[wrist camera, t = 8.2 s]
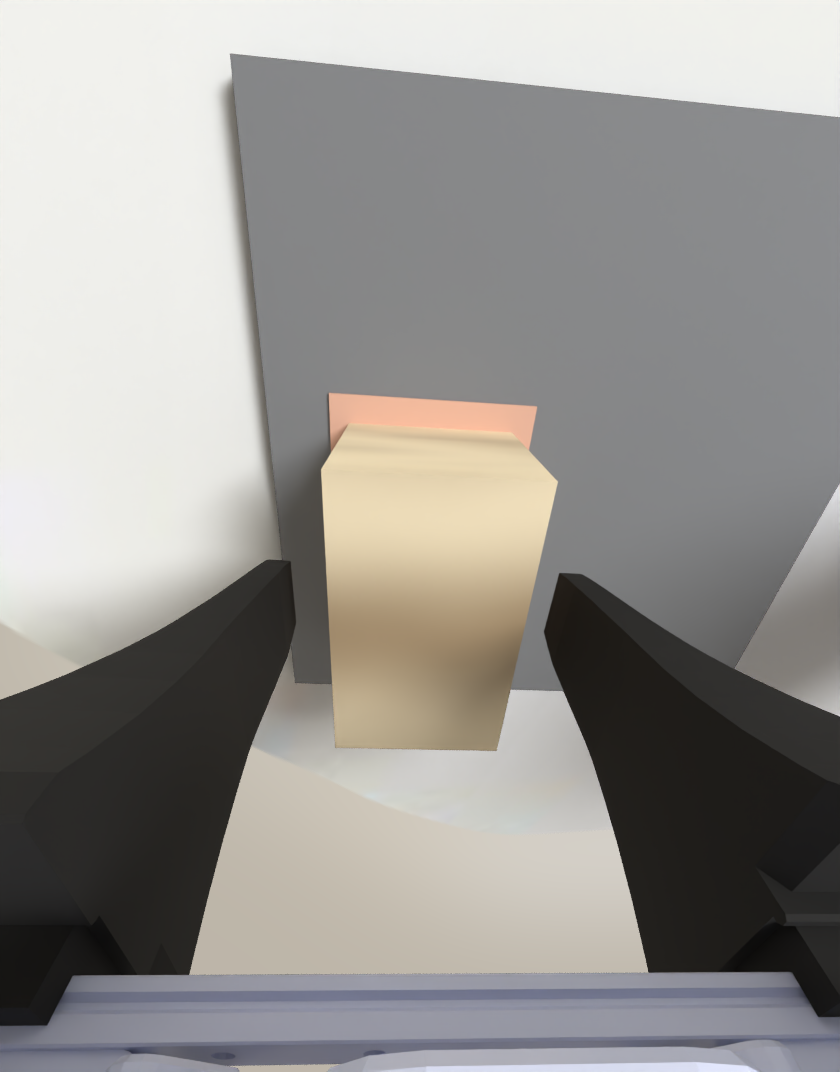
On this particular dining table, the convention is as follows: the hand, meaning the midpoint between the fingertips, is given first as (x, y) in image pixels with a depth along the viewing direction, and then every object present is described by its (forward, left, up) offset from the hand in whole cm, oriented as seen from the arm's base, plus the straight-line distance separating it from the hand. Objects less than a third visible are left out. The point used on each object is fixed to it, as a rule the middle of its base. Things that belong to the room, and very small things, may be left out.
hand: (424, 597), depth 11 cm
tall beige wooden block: (0, 0, -2) cm, 2 cm away
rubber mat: (-4, -2, -3) cm, 6 cm away
